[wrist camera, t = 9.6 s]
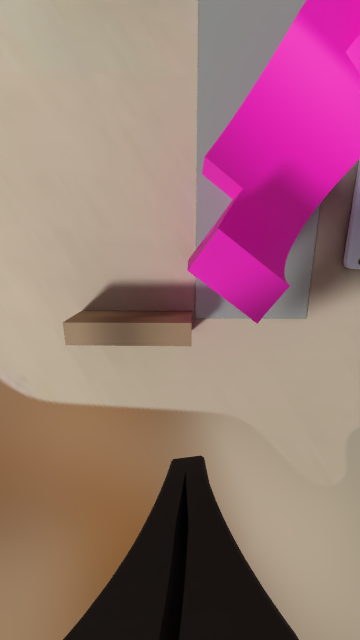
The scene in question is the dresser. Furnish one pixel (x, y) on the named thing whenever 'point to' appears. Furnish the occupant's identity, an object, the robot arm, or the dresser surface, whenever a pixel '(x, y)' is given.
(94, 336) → the pair of brown pieces
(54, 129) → the dresser surface
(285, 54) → the toy block
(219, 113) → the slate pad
